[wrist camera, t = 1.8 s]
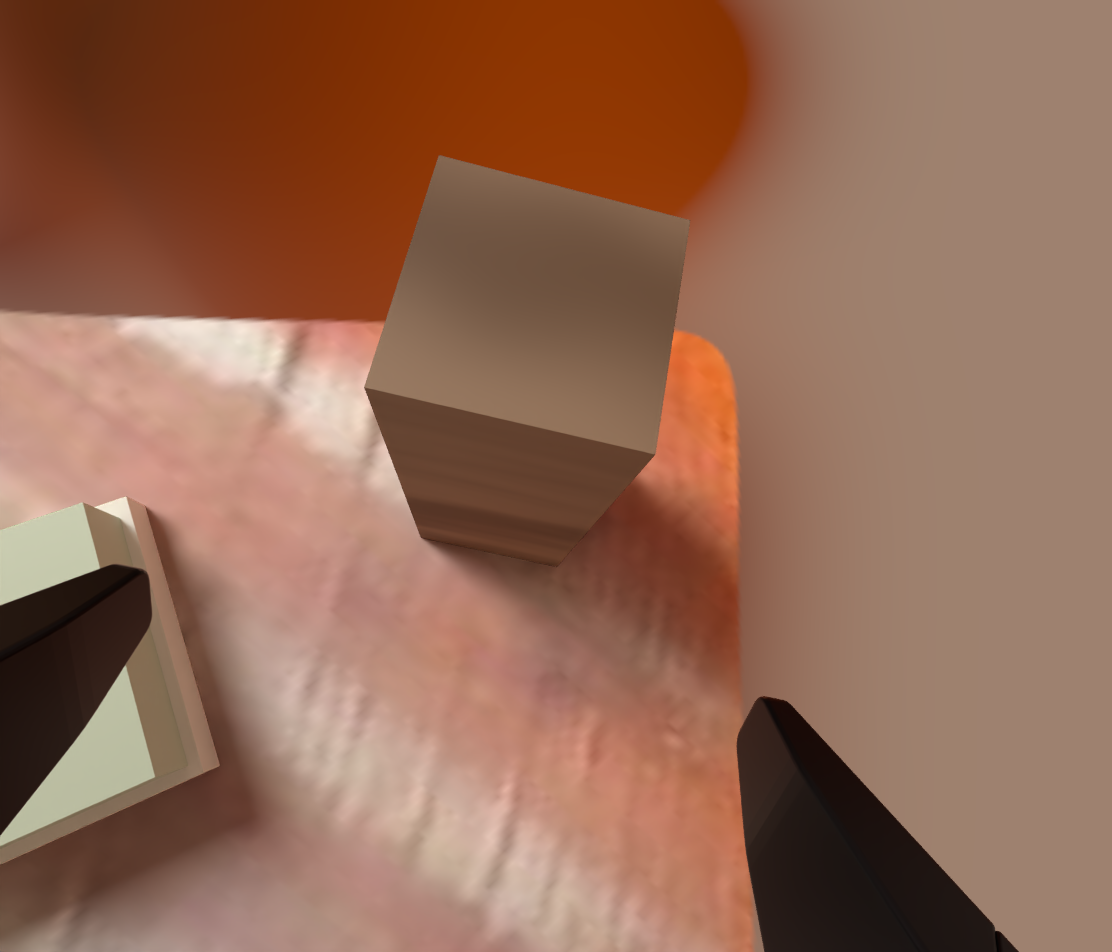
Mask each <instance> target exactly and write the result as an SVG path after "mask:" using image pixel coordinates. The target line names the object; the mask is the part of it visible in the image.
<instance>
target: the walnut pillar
mask: <svg viewBox="0 0 1112 952" xmlns="http://www.w3.org/2000/svg"><path fill="white" fill-rule="evenodd" d="M689 225H690V220H687V219H683V218H679V217H675V216H671V215H668V214H664V213H660V212H656V211H652V210H648V209H644V208H641V207H637V206H633V205H629V204H625V203H621V202H617V201H614V200H610V199H606V198H602V197H598V196H594V195H590V194H586V193H583V192H578V191H575V190H571V189H567V188H563V187H559V186H556V185H552V184H547V183H544V182H540V181H536V180H532V179H529V178H524V177H521V176H517V175H513V174H509V173H505V172H501V171H497V170H494V169H490V168H486V167H482V166H478V165H474V164H471V163H467V162H463V161H459V160H455V159H451V158H447V157H443V156H439V158H438V161H437V164H436V167H435V170H434V173H433V176H432V179H431V182H430V185H429V188H428V191H427V195H426V198H425V201H424V204H423V207H422V210H421V213H420V216H419V219H418V222H417V226H416V229H415V232H414V235H413V238H412V241H411V244H410V247H409V250H408V253H407V256H406V260H405V263H404V266H403V269H402V272H401V275H400V278H399V281H398V284H397V288H396V291H395V294H394V297H393V300H392V303H391V306H390V309H389V312H388V316H387V318H386V322H385V325H384V328H383V331H382V334H381V337H380V340H379V343H378V346H377V349H376V352H375V356H374V359H373V362H372V365H371V368H370V371H369V374H368V377H367V380H366V383H365V387H364V388H365V391H366V393H367V396H368V399H369V401H370V404H371V406H372V409H373V412H374V414H375V417H376V420H377V422H378V425H379V428H380V430H381V433H382V436H383V438H384V441H385V444H386V446H387V449H388V452H389V454H390V457H391V460H392V462H393V465H394V468H395V470H396V473H397V475H398V478H399V481H400V483H401V486H402V489H403V491H404V494H405V497H406V499H407V502H408V505H409V507H410V510H411V513H412V515H413V518H414V521H415V523H416V526H417V529H418V531H419V534H420V537H421V538H425V539H430V540H435V541H439V542H444V543H449V544H453V545H458V546H463V547H467V548H472V549H477V550H481V551H486V552H490V553H495V554H500V555H504V556H509V557H514V558H518V559H523V560H528V561H532V562H537V563H542V564H546V565H551V566H556V567H557V566H558V565H559V564H560V563H561V562H562V561H563V559H564V558H565V557H566V556H567V555H568V554H569V553H570V551H571V550H572V549H573V548H574V547H575V546H576V545H577V543H578V542H579V541H580V540H581V539H582V538H583V537H584V535H585V534H586V533H587V532H588V531H589V530H590V529H591V527H592V526H593V525H594V524H595V523H596V522H597V521H598V519H599V518H600V517H601V516H602V515H603V514H604V513H605V511H606V510H607V509H608V508H609V507H610V506H611V505H612V503H613V502H614V501H615V500H616V499H617V498H618V497H619V495H620V494H621V493H622V492H623V491H624V490H625V489H626V487H627V486H628V485H629V484H630V483H631V482H632V481H633V479H634V478H635V477H636V476H637V475H638V474H639V473H640V471H641V470H642V469H643V468H644V467H645V466H646V465H647V463H648V462H649V461H650V460H651V459H652V458H653V457H654V455H655V453H656V447H657V440H658V433H659V427H660V420H661V413H662V406H663V400H664V393H665V386H666V380H667V373H668V366H669V360H670V353H671V346H672V339H673V333H674V326H675V319H676V313H677V305H678V299H679V292H680V286H681V279H682V272H683V265H684V259H685V252H686V245H687V238H688V231H689Z"/></svg>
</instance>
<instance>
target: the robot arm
mask: <svg viewBox="0 0 1112 952" xmlns="http://www.w3.org/2000/svg"><path fill="white" fill-rule="evenodd" d="M151 620H152V602H151V591H150V580H149V575H148V573H147V572H146V571H145V570H144V569H142V568H137V567H132V566H127V565H123V564H111V565H108V566H105V567H102V568H100V569H97V570H94V571H92V572H89V573H86V574H84V575H81V576H78V577H75V578H73V579H70V580H67V581H65V582H62V583H59V584H56V585H54V586H51V587H48V588H46V589H43V590H40V591H37V592H35V593H32V594H29V595H27V596H24V597H21V598H18V599H16V600H13V601H10V602H8V603H5V604H2V605H0V836H1V834H2V833H3V832H4V831H5V829H6V828H7V827H8V826H9V824H10V823H11V822H12V821H13V819H14V818H15V817H16V815H17V814H18V813H19V812H20V810H21V809H22V808H23V807H24V805H25V804H26V803H27V802H28V800H29V799H30V798H31V796H32V795H33V794H34V793H35V791H36V790H37V789H38V788H39V786H40V785H41V784H42V782H43V781H44V780H45V779H46V777H47V776H48V775H49V774H50V772H51V771H52V770H53V769H54V767H55V766H56V765H57V763H58V762H59V761H60V760H61V758H62V757H63V756H64V755H65V753H66V752H67V751H68V749H69V748H70V747H71V746H72V744H73V743H74V742H75V740H76V739H77V738H78V736H79V735H80V734H81V732H82V731H83V730H84V728H85V727H86V726H87V724H88V723H89V721H90V720H91V718H92V717H93V715H94V714H95V712H96V711H97V709H98V708H99V706H100V704H101V703H102V701H103V700H104V698H105V697H106V695H107V693H108V692H109V690H110V689H111V687H112V686H113V684H114V682H115V681H116V679H117V678H118V676H119V675H120V673H121V671H122V670H123V668H124V667H125V665H126V664H127V662H128V660H129V659H130V657H131V656H132V654H133V653H134V651H135V649H136V648H137V646H138V645H139V643H140V642H141V640H142V639H143V637H144V635H145V634H146V632H147V630H148V628H149V626H150V623H151ZM737 758H738V769H739V781H740V793H741V805H742V816H743V828H744V838H745V847H746V855H747V861H748V867H749V872H750V878H751V883H752V888H753V894H754V899H755V904H756V910H757V915H758V920H759V925H760V931H761V935H762V941H763V946H764V952H1019V951H1018V950H1017V949H1016V948H1015V947H1014V946H1013V945H1012V944H1011V943H1010V942H1009V941H1008V940H1007V938H1005V936H1004V935H1003V934H1002V933H1001V932H999V931H995V927H994V925H993V923H992V922H991V921H990V920H989V919H988V918H987V917H986V916H985V915H984V914H983V913H982V912H981V910H979V908H978V907H977V906H976V905H975V904H974V903H973V902H972V901H971V900H970V899H969V898H968V896H967V895H966V894H965V893H964V892H963V891H962V890H961V889H960V888H959V887H958V886H957V884H956V883H955V882H954V881H953V880H952V879H951V878H950V877H949V876H948V875H947V874H946V873H945V871H944V870H943V869H942V868H941V867H940V866H939V865H938V864H937V863H936V862H935V861H934V860H933V858H932V857H931V856H930V855H929V854H928V853H927V852H926V851H925V850H924V849H923V848H922V846H921V845H920V844H919V843H918V842H917V841H916V840H915V839H914V838H913V837H912V836H911V834H910V833H909V832H908V831H907V830H906V829H905V828H904V827H903V826H902V825H901V824H900V823H899V821H897V819H896V818H895V817H894V816H893V815H892V814H891V813H890V812H889V811H888V810H887V808H886V807H885V806H884V805H883V804H882V803H881V802H880V801H879V800H878V799H877V798H876V796H874V794H873V793H872V792H871V791H870V790H869V789H868V788H867V787H866V786H865V785H864V784H863V782H862V781H861V780H860V779H859V778H858V777H857V776H856V775H855V774H854V773H853V772H852V771H851V769H850V768H849V767H848V766H847V765H846V764H845V763H844V762H843V761H842V760H841V758H839V756H838V755H837V754H836V753H835V752H834V751H833V750H832V749H831V748H830V747H829V746H828V745H827V743H826V742H825V741H824V740H823V739H822V738H821V737H820V736H819V735H818V734H817V733H816V731H815V730H814V729H813V728H812V727H811V726H810V725H809V724H808V723H807V722H806V720H804V718H803V717H802V716H801V715H800V714H799V713H798V712H797V711H796V710H795V709H794V708H793V706H792V705H791V704H789V703H788V702H787V701H784V700H780V699H776V698H771V697H765V696H763V697H759V698H758V699H757V700H756V701H755V703H754V705H753V707H752V709H751V710H750V713H749V714H748V716H747V718H746V720H745V722H744V724H743V725H742V727H741V729H740V731H739V734H738V738H737Z"/></svg>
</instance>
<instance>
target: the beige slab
mask: <svg viewBox="0 0 1112 952" xmlns="http://www.w3.org/2000/svg"><path fill="white" fill-rule="evenodd" d="M95 508H97V509H99V510H102V511H104V512H107V513H109V514H111V515H114V516H116V517H118V518H120V520H121V524H122V527H123V531H124V535H125V538H126V542H127V545H128V549H129V553H130V556H131V560H132V564H133V567H137V568H142V569H144V570H145V571H146V572H147V573H148V575H149V580H150V591H151V602H152V620H151V623H150V629H151V632H152V636H153V640H154V643H155V647H156V651H157V654H158V658H159V661H160V665H161V669H162V672H163V676H164V680H165V683H166V687H167V690H168V694H169V698H170V701H171V705H172V709H173V712H174V716H175V719H176V723H177V727H178V730H179V734H180V738H181V741H182V745H183V748H184V752H185V756H186V759H187V763H188V766H186V767H184V768H182V769H180V770H177V771H175V772H173V773H171V774H168V775H166V776H164V777H162V778H159V779H157V780H155V781H153V782H150V783H148V784H146V785H144V786H141V787H139V788H137V789H135V790H132V791H130V792H128V793H126V794H123V795H121V796H119V797H117V798H114V799H112V800H110V801H108V802H105V803H103V804H101V805H99V806H96V807H94V808H92V809H90V810H87V811H85V812H83V813H81V814H79V815H76V816H74V817H72V818H70V819H67V820H65V821H63V822H61V823H58V824H56V825H54V826H52V827H49V828H47V829H45V830H43V831H40V832H38V833H36V834H34V835H31V836H29V837H27V838H25V839H22V840H20V841H18V842H16V843H13V844H11V845H9V846H7V847H4V848H2V849H0V865H1V864H3V863H6V862H8V861H10V860H12V859H15V858H17V857H19V856H21V855H23V854H26V853H28V852H30V851H32V850H35V849H37V848H39V847H41V846H43V845H46V844H48V843H50V842H52V841H55V840H57V839H59V838H61V837H63V836H66V835H68V834H70V833H72V832H75V831H77V830H79V829H81V828H83V827H86V826H88V825H90V824H92V823H94V822H97V821H99V820H101V819H103V818H106V817H108V816H110V815H112V814H114V813H117V812H119V811H121V810H123V809H126V808H128V807H130V806H132V805H134V804H137V803H139V802H141V801H143V800H146V799H148V798H150V797H152V796H154V795H157V794H159V793H161V792H163V791H166V790H168V789H170V788H172V787H174V786H177V785H179V784H181V783H183V782H185V781H188V780H190V779H192V778H194V777H197V776H199V775H201V774H203V773H205V772H208V771H210V770H212V769H214V768H217V767H219V766H220V764H219V760H218V757H217V754H216V750H215V747H214V743H213V740H212V736H211V733H210V729H209V726H208V722H207V719H206V715H205V712H204V708H203V705H202V702H201V698H200V695H199V691H198V688H197V684H196V681H195V677H194V674H193V670H192V667H191V663H190V660H189V657H188V653H187V650H186V646H185V643H184V639H183V636H182V632H181V629H180V625H179V622H178V618H177V615H176V611H175V608H174V605H173V601H172V598H171V594H170V591H169V587H168V584H167V580H166V577H165V573H164V570H163V566H162V563H161V560H160V556H159V553H158V549H157V546H156V542H155V539H154V535H153V532H152V528H151V525H150V521H149V518H148V514H147V511H146V508H145V505H143V504H141V503H139V502H137V501H135V500H132V499H130V498H128V497H123V498H120V499H117V500H114V501H111V502H108V503H105V504H102V505H99V506H96V507H95Z"/></svg>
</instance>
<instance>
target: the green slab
mask: <svg viewBox="0 0 1112 952" xmlns="http://www.w3.org/2000/svg"><path fill="white" fill-rule="evenodd" d="M111 564H123V565H127V566H132V567H133V564H132V560H131V556H130V553H129V549H128V545H127V542H126V538H125V535H124V531H123V527H122V524H121V520H120V518H118V517H116V516H114V515H111V514H109V513H107V512H104V511H102V510H99V509H97V508H95V507H92V506H90V505H88V504H85V503H80V504H77V505H74V506H71V507H68V508H65V509H62V510H59V511H56V512H53V513H50V514H47V515H44V516H41V517H38V518H35V519H32V520H29V521H26V522H23V523H20V524H17V525H14V526H11V527H8V528H5V529H2V530H0V605H2V604H5V603H8V602H10V601H13V600H16V599H18V598H21V597H24V596H27V595H29V594H32V593H35V592H37V591H40V590H43V589H46V588H48V587H51V586H54V585H56V584H59V583H62V582H65V581H67V580H70V579H73V578H75V577H78V576H81V575H84V574H86V573H89V572H92V571H94V570H97V569H100V568H102V567H105V566H108V565H111ZM186 766H188V763H187V759H186V756H185V752H184V748H183V745H182V741H181V738H180V734H179V730H178V727H177V723H176V719H175V716H174V712H173V709H172V705H171V701H170V698H169V694H168V690H167V687H166V683H165V680H164V676H163V672H162V669H161V665H160V661H159V658H158V654H157V651H156V647H155V643H154V640H153V636H152V632H151V629H150V626H149V628H148V630H147V632H146V634H145V635H144V637H143V639H142V640H141V642H140V643H139V645H138V646H137V648H136V649H135V651H134V653H133V654H132V656H131V657H130V659H129V660H128V662H127V664H126V665H125V667H124V668H123V670H122V671H121V673H120V675H119V676H118V678H117V679H116V681H115V682H114V684H113V686H112V687H111V689H110V690H109V692H108V693H107V695H106V697H105V698H104V700H103V701H102V703H101V704H100V706H99V708H98V709H97V711H96V712H95V714H94V715H93V717H92V718H91V720H90V721H89V723H88V724H87V726H86V727H85V728H84V730H83V731H82V732H81V734H80V735H79V736H78V738H77V739H76V740H75V742H74V743H73V744H72V746H71V747H70V748H69V749H68V751H67V752H66V753H65V755H64V756H63V757H62V758H61V760H60V761H59V762H58V763H57V765H56V766H55V767H54V769H53V770H52V771H51V772H50V774H49V775H48V776H47V777H46V779H45V780H44V781H43V782H42V784H41V785H40V786H39V788H38V789H37V790H36V791H35V793H34V794H33V795H32V796H31V798H30V799H29V800H28V802H27V803H26V804H25V805H24V807H23V808H22V809H21V810H20V812H19V813H18V814H17V815H16V817H15V818H14V819H13V821H12V822H11V823H10V824H9V826H8V827H7V828H6V829H5V831H4V832H3V833H2V834H1V836H0V849H2V848H4V847H7V846H9V845H11V844H13V843H16V842H18V841H20V840H22V839H25V838H27V837H29V836H31V835H34V834H36V833H38V832H40V831H43V830H45V829H47V828H49V827H52V826H54V825H56V824H58V823H61V822H63V821H65V820H67V819H70V818H72V817H74V816H76V815H79V814H81V813H83V812H85V811H87V810H90V809H92V808H94V807H96V806H99V805H101V804H103V803H105V802H108V801H110V800H112V799H114V798H117V797H119V796H121V795H123V794H126V793H128V792H130V791H132V790H135V789H137V788H139V787H141V786H144V785H146V784H148V783H150V782H153V781H155V780H157V779H159V778H162V777H164V776H166V775H168V774H171V773H173V772H175V771H177V770H180V769H182V768H184V767H186Z"/></svg>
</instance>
